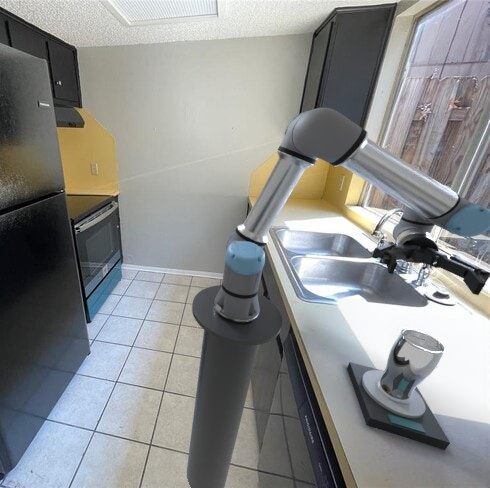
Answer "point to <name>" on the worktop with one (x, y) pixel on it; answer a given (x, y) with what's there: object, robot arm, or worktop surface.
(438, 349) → the beer glass
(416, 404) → the scale
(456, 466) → the worktop surface
